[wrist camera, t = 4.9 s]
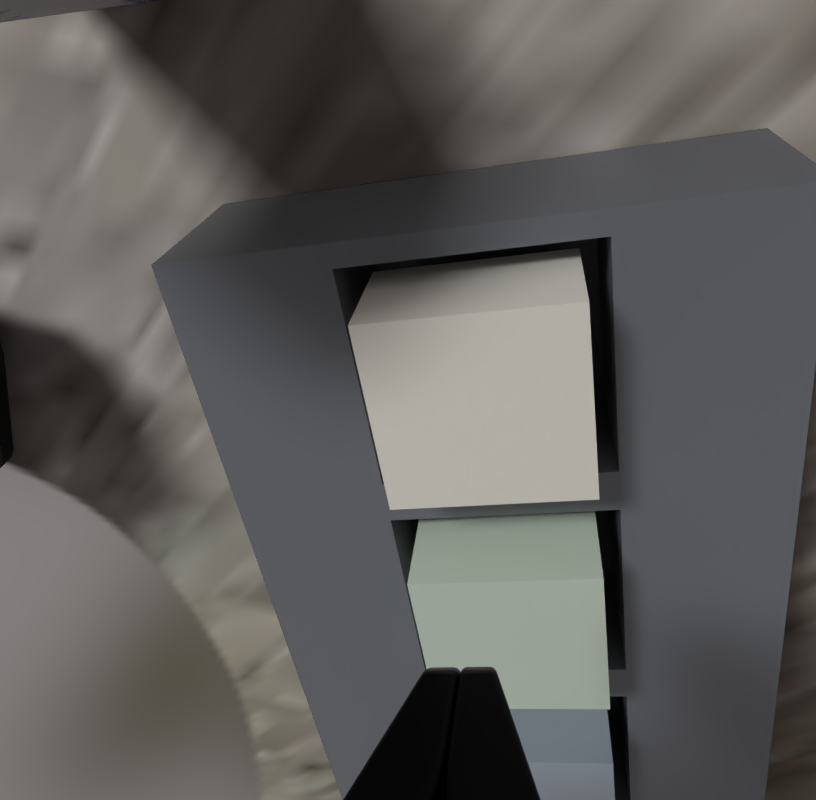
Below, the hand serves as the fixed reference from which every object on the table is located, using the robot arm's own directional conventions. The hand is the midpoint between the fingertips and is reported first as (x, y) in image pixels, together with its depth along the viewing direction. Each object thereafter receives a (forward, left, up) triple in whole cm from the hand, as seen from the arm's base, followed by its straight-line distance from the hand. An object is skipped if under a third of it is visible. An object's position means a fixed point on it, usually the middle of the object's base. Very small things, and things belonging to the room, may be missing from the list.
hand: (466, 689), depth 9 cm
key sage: (0, +6, -8) cm, 10 cm away
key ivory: (0, 0, -8) cm, 8 cm away
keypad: (0, +9, -11) cm, 14 cm away
